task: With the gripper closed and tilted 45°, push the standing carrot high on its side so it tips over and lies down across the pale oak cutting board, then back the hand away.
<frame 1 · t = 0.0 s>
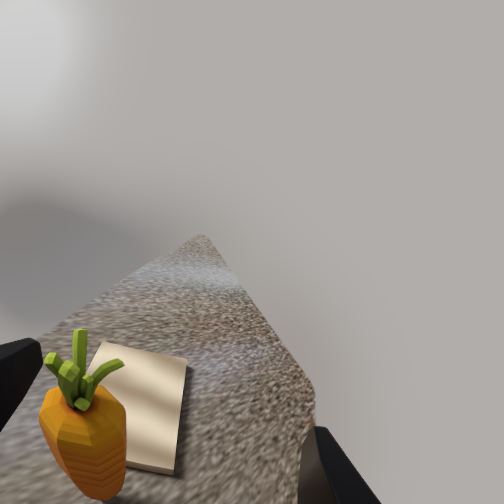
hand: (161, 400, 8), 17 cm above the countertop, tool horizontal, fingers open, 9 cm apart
carrot: (103, 497, 16), on the countertop
cutting board: (129, 402, 26), on the countertop
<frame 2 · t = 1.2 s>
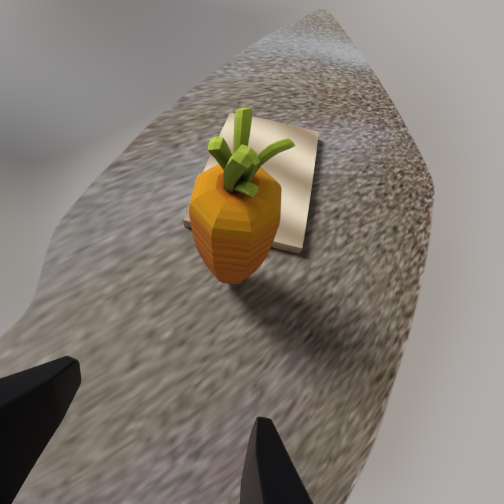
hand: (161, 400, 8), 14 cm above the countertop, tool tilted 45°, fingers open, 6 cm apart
carrot: (230, 279, 25), on the countertop
cutting board: (259, 174, 30), on the countertop
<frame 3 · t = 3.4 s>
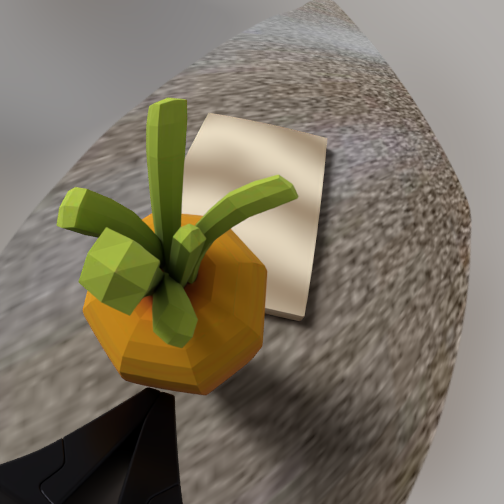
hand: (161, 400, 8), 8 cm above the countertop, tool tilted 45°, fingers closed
carrot: (200, 360, 17), on the countertop
cutting board: (245, 200, 22), on the countertop
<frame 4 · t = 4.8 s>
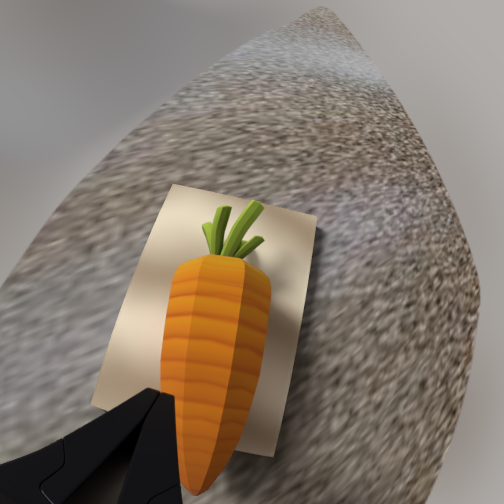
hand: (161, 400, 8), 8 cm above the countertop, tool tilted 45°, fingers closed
carrot: (194, 498, 11), point 3 cm above the countertop, touching cutting board
cutting board: (213, 310, 18), on the countertop
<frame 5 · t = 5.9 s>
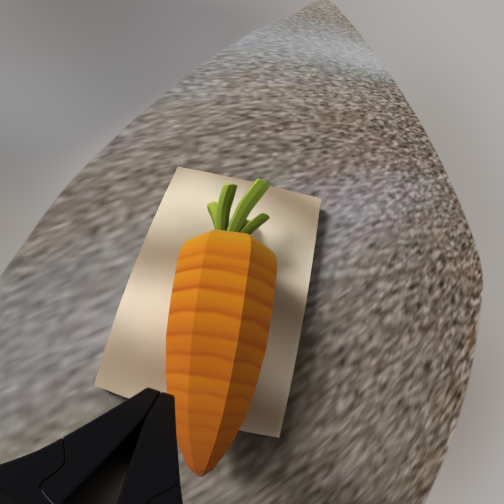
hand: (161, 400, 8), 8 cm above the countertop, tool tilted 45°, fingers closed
carrot: (198, 479, 11), point 3 cm above the countertop, touching cutting board
cutting board: (218, 289, 19), on the countertop
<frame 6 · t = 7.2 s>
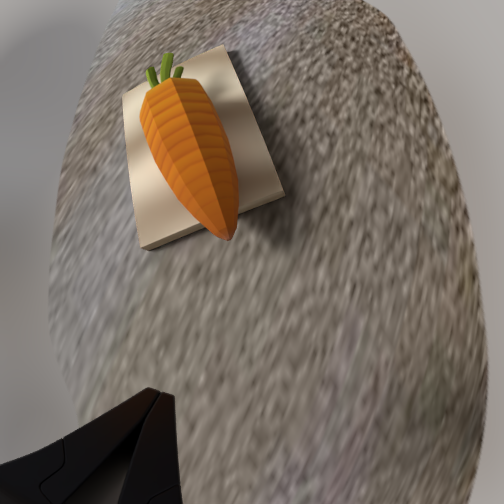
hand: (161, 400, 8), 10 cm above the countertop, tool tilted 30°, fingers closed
carrot: (230, 242, 17), point 3 cm above the countertop, touching cutting board
cutting board: (189, 135, 22), on the countertop
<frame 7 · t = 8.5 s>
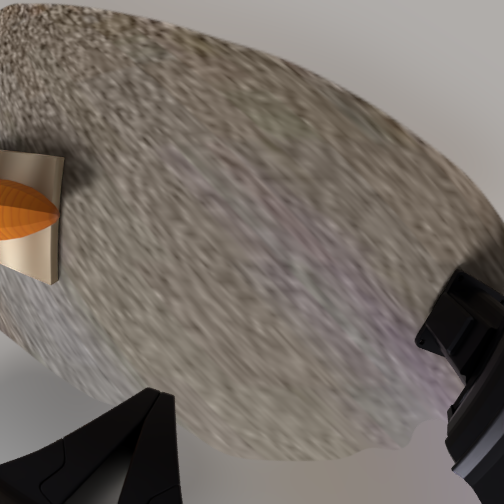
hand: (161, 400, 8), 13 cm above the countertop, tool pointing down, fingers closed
carrot: (61, 215, 18), point 3 cm above the countertop, touching cutting board
cutting board: (1, 206, 21), on the countertop
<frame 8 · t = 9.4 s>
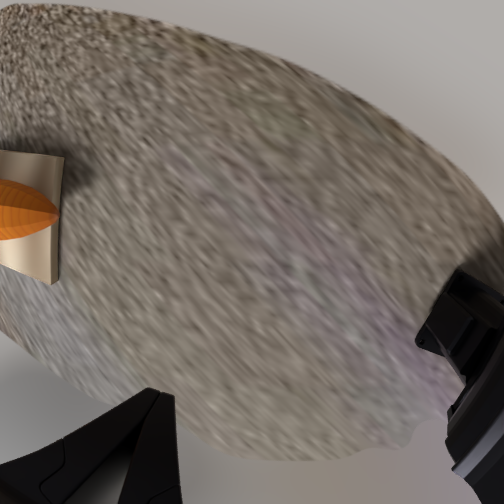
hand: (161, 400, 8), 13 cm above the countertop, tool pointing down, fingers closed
carrot: (61, 215, 18), point 3 cm above the countertop, touching cutting board
cutting board: (1, 206, 21), on the countertop
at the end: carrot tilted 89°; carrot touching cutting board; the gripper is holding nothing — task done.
